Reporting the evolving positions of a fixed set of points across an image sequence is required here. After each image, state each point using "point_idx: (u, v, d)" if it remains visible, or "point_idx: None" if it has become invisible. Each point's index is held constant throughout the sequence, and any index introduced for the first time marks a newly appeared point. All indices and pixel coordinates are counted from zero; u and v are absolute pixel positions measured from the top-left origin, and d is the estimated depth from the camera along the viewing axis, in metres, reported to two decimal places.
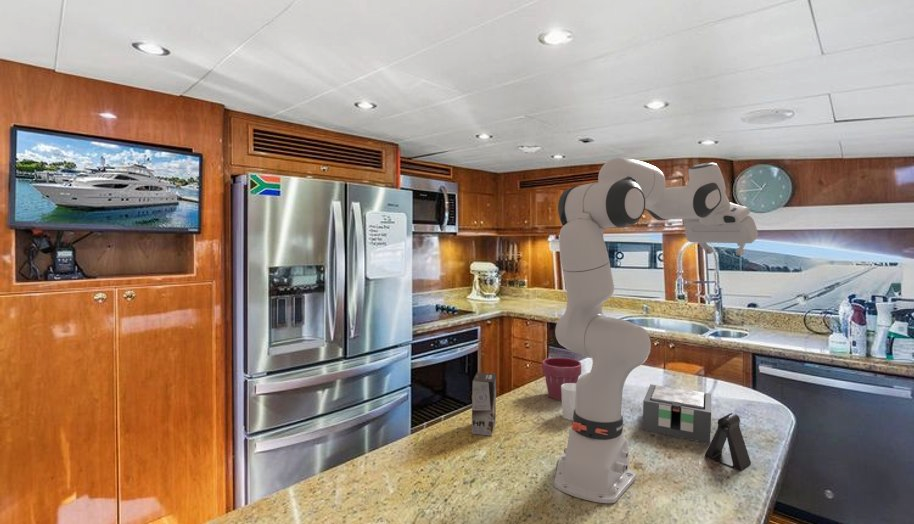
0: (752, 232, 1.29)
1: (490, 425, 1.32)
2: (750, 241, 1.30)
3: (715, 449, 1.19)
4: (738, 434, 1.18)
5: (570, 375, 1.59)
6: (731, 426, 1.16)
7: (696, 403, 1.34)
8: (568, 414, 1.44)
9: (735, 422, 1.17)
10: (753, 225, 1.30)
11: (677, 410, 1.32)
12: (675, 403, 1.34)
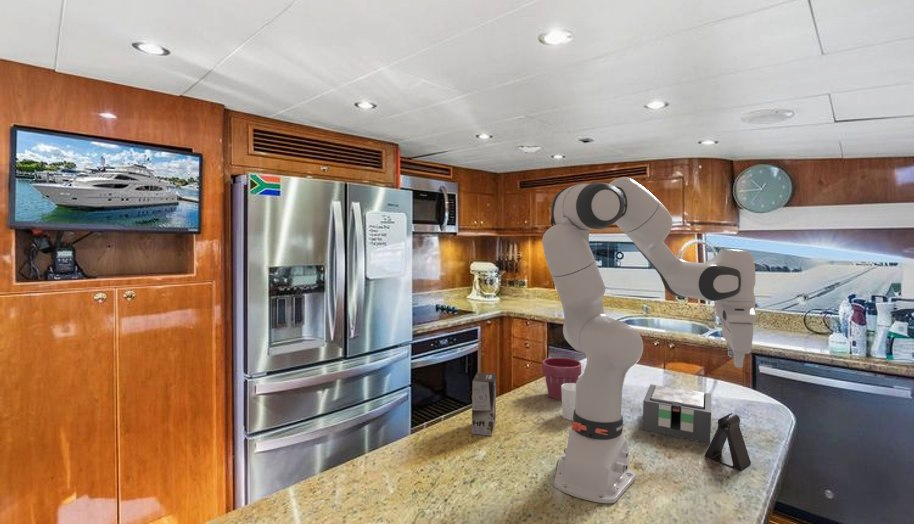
0: (740, 341, 1.11)
1: (490, 425, 1.32)
2: (733, 349, 1.12)
3: (715, 449, 1.19)
4: (738, 434, 1.18)
5: (570, 375, 1.59)
6: (731, 426, 1.16)
7: (696, 403, 1.34)
8: (568, 414, 1.44)
9: (735, 422, 1.17)
10: (746, 335, 1.10)
11: (677, 410, 1.32)
12: (675, 403, 1.34)
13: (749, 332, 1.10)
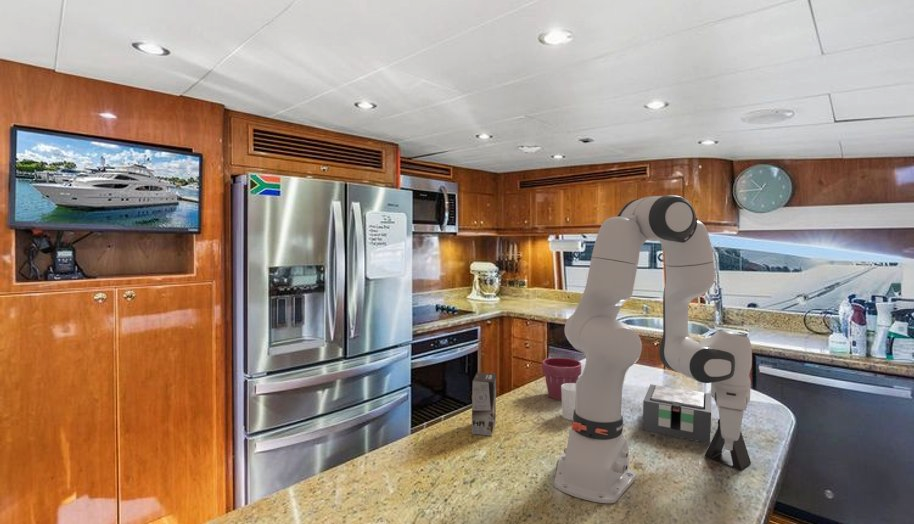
0: (728, 427, 1.10)
1: (490, 425, 1.32)
2: (721, 434, 1.11)
3: (715, 449, 1.19)
4: None
5: (570, 375, 1.59)
6: None
7: (696, 403, 1.34)
8: (568, 414, 1.44)
9: None
10: (735, 422, 1.09)
11: (677, 410, 1.32)
12: (675, 403, 1.34)
13: (738, 419, 1.09)
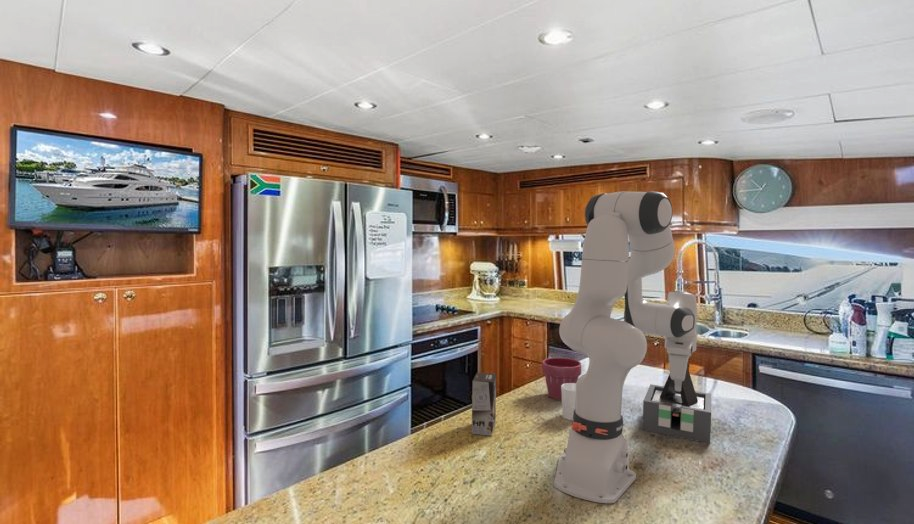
0: (675, 370, 1.32)
1: (490, 425, 1.32)
2: (670, 376, 1.33)
3: (668, 390, 1.41)
4: (687, 377, 1.39)
5: (570, 375, 1.59)
6: None
7: None
8: (568, 414, 1.44)
9: None
10: (681, 365, 1.31)
11: (677, 415, 1.32)
12: (675, 408, 1.34)
13: (683, 363, 1.31)
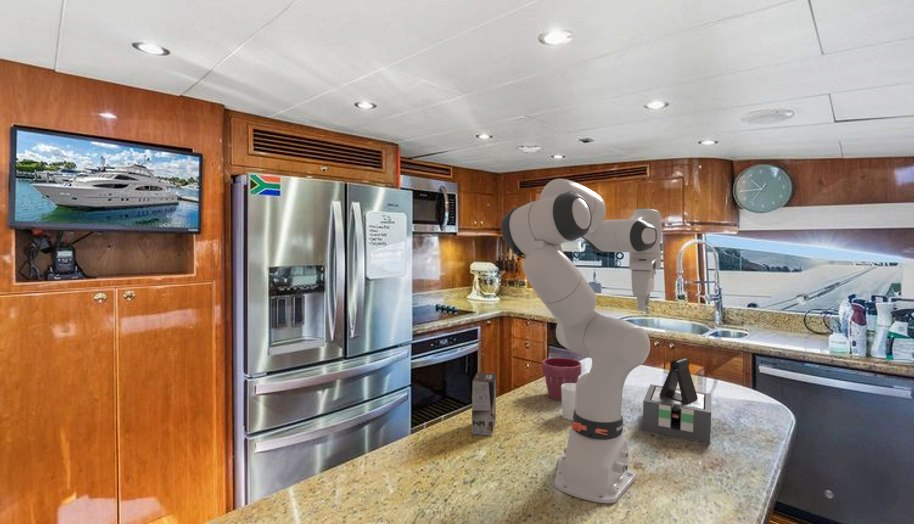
0: (637, 285, 1.28)
1: (490, 425, 1.32)
2: None
3: (668, 388, 1.40)
4: (687, 374, 1.39)
5: (570, 375, 1.59)
6: (681, 367, 1.37)
7: (696, 405, 1.34)
8: (568, 414, 1.44)
9: (684, 364, 1.39)
10: (643, 280, 1.28)
11: (677, 416, 1.32)
12: (675, 405, 1.34)
13: (645, 278, 1.27)
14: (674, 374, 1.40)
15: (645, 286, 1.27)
